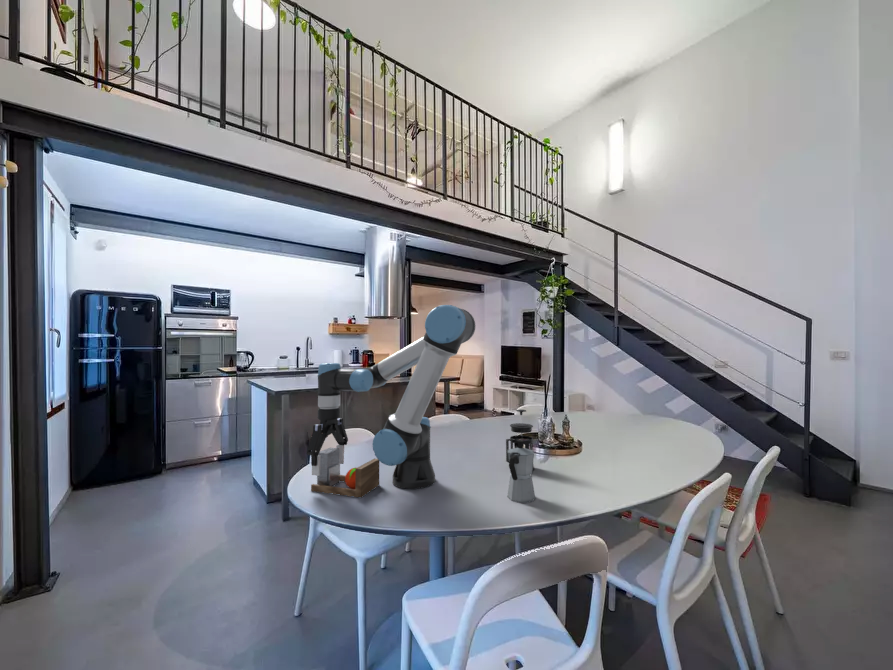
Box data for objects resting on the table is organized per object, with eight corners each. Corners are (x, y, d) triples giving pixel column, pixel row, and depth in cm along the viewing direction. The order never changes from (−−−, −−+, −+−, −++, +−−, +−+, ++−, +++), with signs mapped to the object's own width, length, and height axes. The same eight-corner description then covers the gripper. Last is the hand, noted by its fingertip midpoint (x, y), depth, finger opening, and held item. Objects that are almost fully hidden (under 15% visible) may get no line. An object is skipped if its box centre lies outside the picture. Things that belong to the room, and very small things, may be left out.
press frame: (379, 485, 133) (379, 458, 133) (360, 497, 121) (361, 469, 122) (332, 479, 139) (332, 454, 139) (311, 491, 127) (311, 463, 128)
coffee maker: (515, 488, 129) (514, 434, 130) (540, 493, 124) (540, 437, 125) (497, 504, 116) (496, 444, 117) (525, 510, 111) (524, 447, 112)
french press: (528, 463, 157) (527, 407, 158) (540, 470, 148) (539, 410, 149) (501, 466, 154) (501, 408, 154) (512, 473, 145) (511, 412, 145)
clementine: (359, 494, 124) (359, 472, 125) (339, 492, 126) (339, 471, 126) (369, 485, 132) (369, 465, 132) (350, 484, 134) (350, 464, 134)
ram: (340, 483, 135) (341, 448, 135) (328, 489, 128) (328, 453, 129) (329, 481, 136) (329, 447, 137) (317, 488, 130) (317, 452, 130)
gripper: (340, 402, 146) (340, 458, 146) (295, 412, 123) (294, 479, 122) (357, 403, 144) (357, 460, 143) (314, 413, 120) (314, 481, 120)
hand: (328, 469), depth 133 cm, fingers open, 13 cm apart
